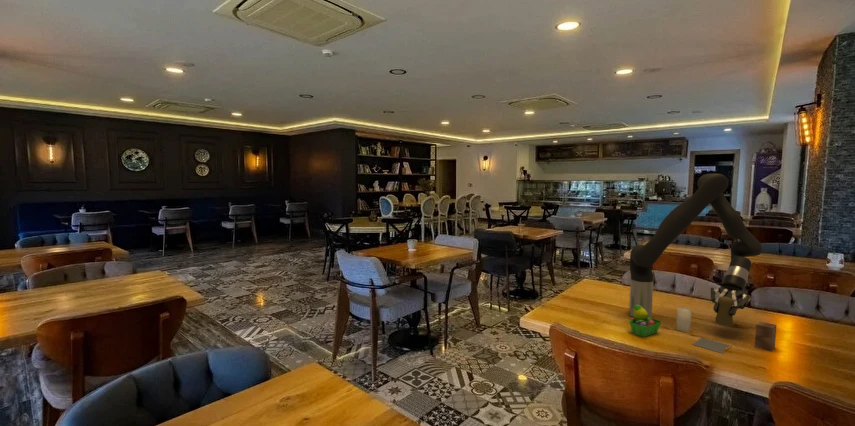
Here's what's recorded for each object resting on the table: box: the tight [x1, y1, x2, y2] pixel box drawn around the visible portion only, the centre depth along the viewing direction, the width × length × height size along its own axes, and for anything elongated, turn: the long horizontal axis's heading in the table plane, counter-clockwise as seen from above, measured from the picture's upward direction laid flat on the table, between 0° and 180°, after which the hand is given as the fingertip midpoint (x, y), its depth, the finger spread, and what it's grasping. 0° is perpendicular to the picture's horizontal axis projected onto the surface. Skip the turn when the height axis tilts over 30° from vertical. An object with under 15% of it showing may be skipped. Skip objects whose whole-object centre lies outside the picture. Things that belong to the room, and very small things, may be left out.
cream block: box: [675, 306, 692, 333], centre depth 168 cm, size 5×5×9 cm
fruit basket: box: [628, 305, 662, 338], centre depth 166 cm, size 11×9×11 cm
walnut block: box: [754, 321, 777, 352], centre depth 151 cm, size 5×5×9 cm
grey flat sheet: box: [691, 337, 732, 354], centre depth 153 cm, size 10×10×1 cm
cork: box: [714, 296, 734, 327], centre depth 161 cm, size 6×6×11 cm
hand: (723, 313), depth 160 cm, fingers closed on cork, 4 cm apart
